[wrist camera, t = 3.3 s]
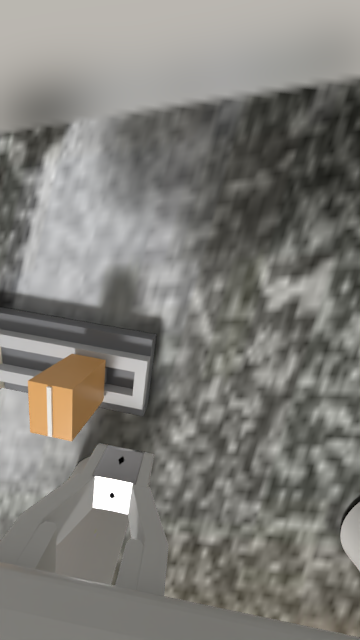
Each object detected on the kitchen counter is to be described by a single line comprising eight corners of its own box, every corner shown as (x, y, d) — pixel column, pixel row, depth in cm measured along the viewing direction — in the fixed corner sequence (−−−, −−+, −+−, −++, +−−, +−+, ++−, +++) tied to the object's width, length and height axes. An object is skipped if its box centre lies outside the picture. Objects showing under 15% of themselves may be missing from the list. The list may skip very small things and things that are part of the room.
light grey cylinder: (75, 448, 22) (-59, 634, 11) (141, 464, 22) (76, 677, 10) (73, 498, 24) (-42, 701, 13) (134, 513, 24) (72, 739, 12)
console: (156, 334, 18) (142, 353, 14) (147, 405, 20) (132, 442, 16) (-35, 300, 19) (-105, 308, 15) (-26, 370, 21) (-86, 396, 17)
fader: (111, 354, 17) (71, 390, 12) (109, 393, 18) (70, 442, 13) (79, 348, 17) (26, 381, 12) (79, 387, 18) (29, 433, 13)
